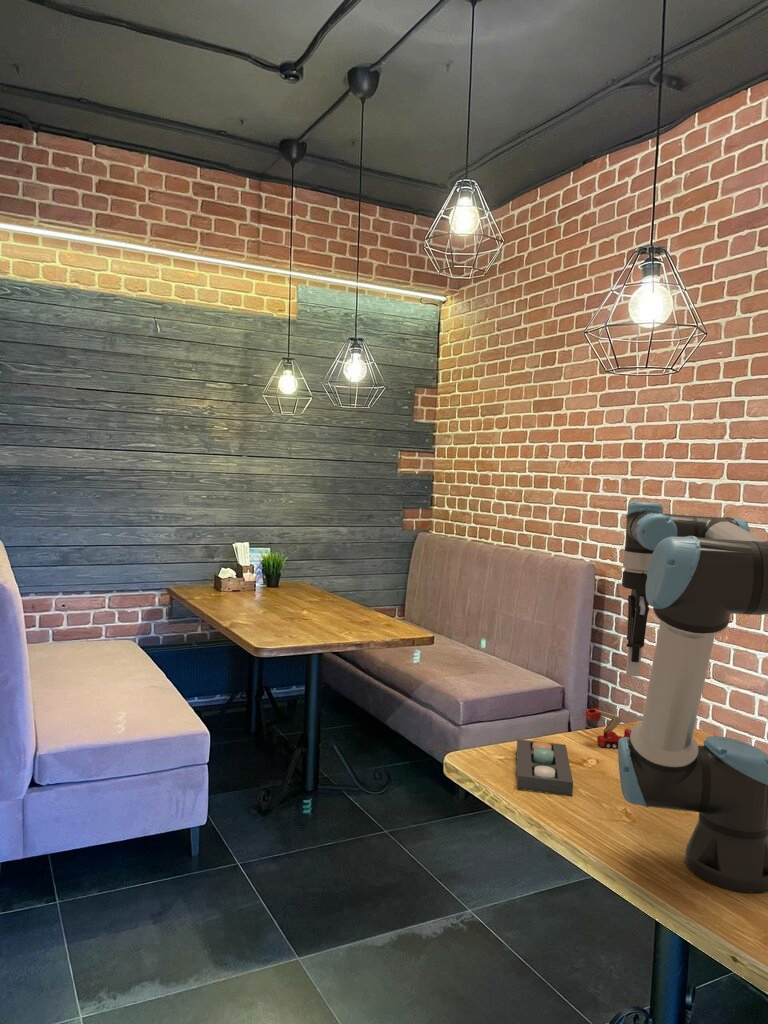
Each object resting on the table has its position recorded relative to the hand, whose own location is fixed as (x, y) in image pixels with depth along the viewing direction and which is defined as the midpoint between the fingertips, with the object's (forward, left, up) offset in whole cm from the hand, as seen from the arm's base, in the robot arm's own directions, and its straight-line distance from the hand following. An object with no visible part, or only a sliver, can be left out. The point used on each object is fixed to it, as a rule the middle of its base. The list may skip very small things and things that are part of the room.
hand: (632, 675), depth 170 cm
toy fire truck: (+28, -1, -27) cm, 39 cm away
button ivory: (-3, +18, -26) cm, 32 cm away
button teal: (+5, +18, -24) cm, 31 cm away
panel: (+5, +18, -26) cm, 32 cm away
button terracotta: (+13, +18, -26) cm, 34 cm away
